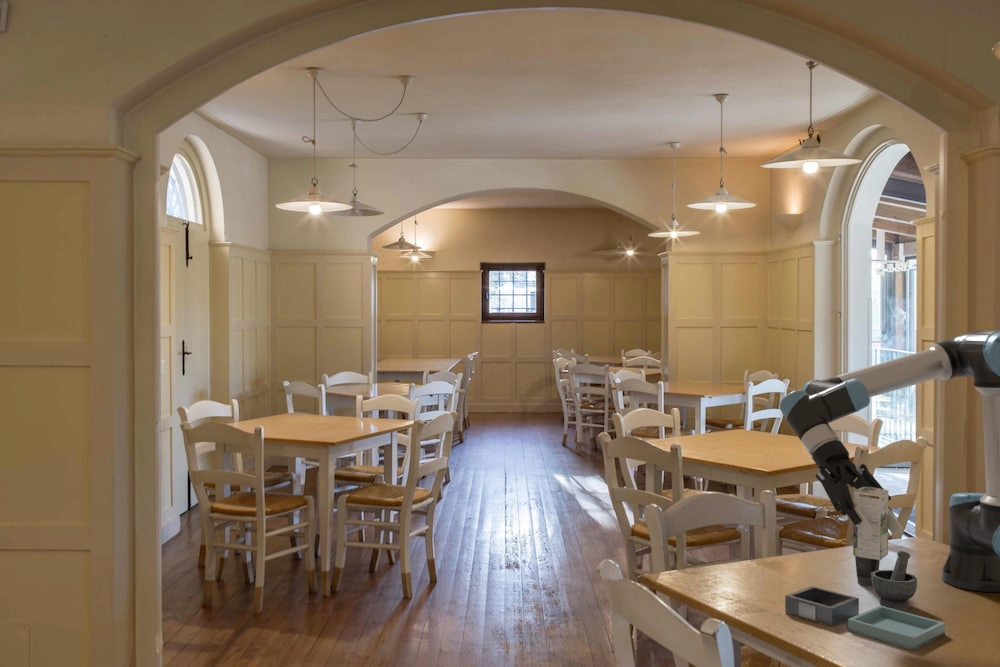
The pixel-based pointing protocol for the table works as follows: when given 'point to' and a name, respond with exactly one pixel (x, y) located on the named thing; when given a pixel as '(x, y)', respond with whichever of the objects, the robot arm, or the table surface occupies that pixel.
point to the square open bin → (822, 605)
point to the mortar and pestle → (895, 584)
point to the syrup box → (872, 523)
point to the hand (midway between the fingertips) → (884, 533)
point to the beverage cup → (865, 569)
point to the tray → (896, 627)
